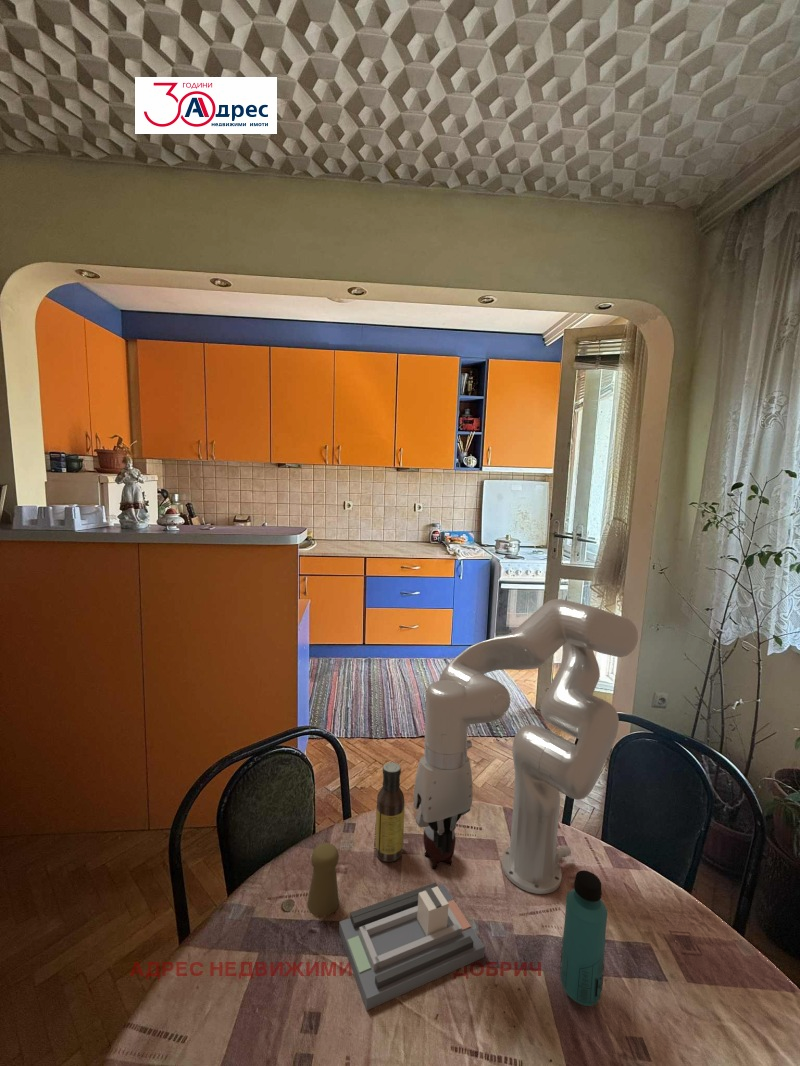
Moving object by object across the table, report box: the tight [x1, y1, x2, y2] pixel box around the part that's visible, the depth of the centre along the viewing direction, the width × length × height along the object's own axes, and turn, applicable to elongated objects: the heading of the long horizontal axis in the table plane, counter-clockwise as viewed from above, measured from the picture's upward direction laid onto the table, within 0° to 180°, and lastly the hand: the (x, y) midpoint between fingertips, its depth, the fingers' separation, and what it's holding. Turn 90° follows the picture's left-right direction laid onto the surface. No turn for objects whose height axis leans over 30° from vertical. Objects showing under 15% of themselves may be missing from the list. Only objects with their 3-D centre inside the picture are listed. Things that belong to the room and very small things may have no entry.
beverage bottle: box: [559, 869, 609, 1007], centre depth 74 cm, size 6×7×20 cm
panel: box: [338, 882, 486, 1011], centre depth 82 cm, size 22×14×3 cm, turn 115°
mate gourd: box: [423, 826, 457, 871], centre depth 101 cm, size 8×8×15 cm
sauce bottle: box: [375, 761, 405, 863], centre depth 102 cm, size 6×6×20 cm
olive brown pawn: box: [306, 842, 340, 918], centre depth 89 cm, size 6×6×11 cm
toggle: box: [417, 885, 449, 936], centre depth 83 cm, size 4×4×5 cm
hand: (442, 848), depth 83 cm, fingers closed
